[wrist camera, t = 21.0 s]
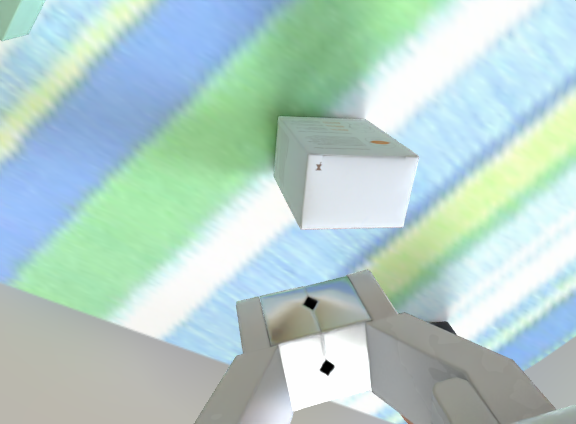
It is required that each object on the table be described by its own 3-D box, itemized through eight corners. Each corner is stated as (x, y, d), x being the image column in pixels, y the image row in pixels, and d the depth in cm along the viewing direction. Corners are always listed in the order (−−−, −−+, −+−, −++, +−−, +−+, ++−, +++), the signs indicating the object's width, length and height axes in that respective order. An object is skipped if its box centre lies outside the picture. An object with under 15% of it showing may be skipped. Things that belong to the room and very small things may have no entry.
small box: (272, 176, 40) (296, 231, 31) (277, 113, 38) (305, 153, 28) (357, 177, 42) (405, 230, 32) (367, 117, 39) (422, 156, 30)
